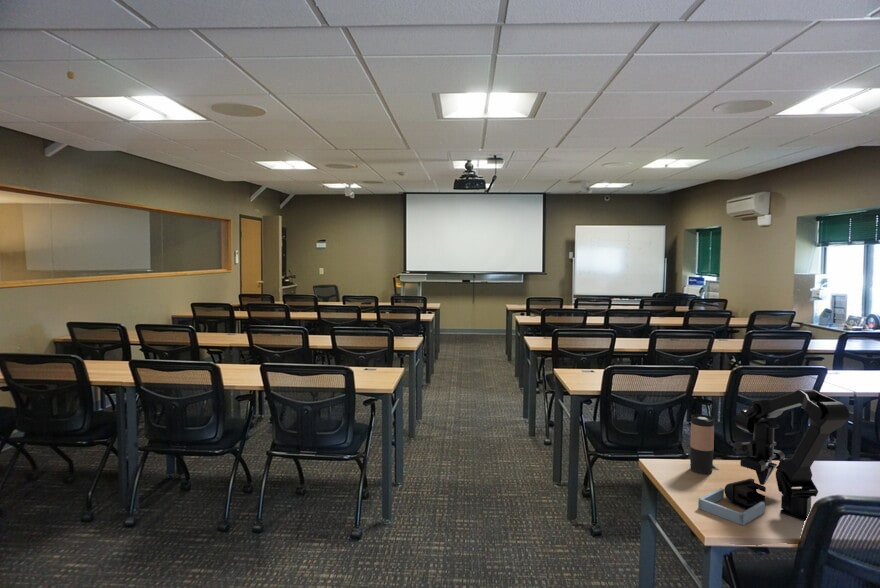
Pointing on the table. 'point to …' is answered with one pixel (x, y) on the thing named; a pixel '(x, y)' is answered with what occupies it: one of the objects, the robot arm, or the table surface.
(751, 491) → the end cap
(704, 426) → the travel mug
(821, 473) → the table surface
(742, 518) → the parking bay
